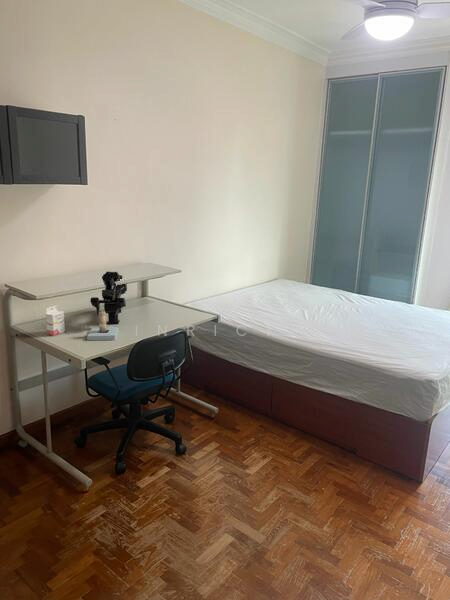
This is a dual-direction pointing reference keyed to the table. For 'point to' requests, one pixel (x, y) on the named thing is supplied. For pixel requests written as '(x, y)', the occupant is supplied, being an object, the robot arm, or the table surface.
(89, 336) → the socket board
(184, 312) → the table surface
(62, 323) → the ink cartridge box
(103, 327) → the dowel
